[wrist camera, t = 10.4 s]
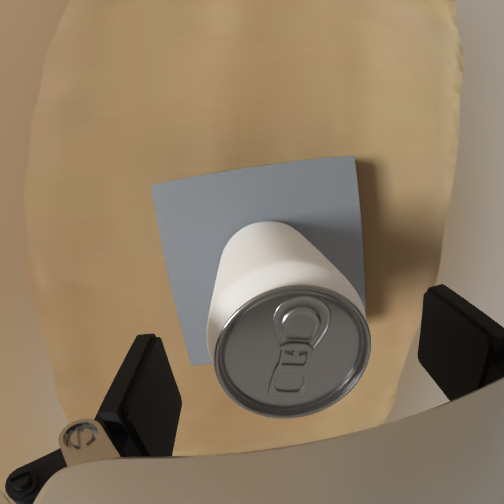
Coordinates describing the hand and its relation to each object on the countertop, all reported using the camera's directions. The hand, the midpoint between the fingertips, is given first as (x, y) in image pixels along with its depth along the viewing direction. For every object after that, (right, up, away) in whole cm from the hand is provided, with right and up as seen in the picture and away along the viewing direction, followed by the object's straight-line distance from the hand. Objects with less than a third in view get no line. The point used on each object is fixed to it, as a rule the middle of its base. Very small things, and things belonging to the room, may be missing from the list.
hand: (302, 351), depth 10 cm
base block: (-1, +3, +16) cm, 16 cm away
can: (-1, +2, +12) cm, 12 cm away
